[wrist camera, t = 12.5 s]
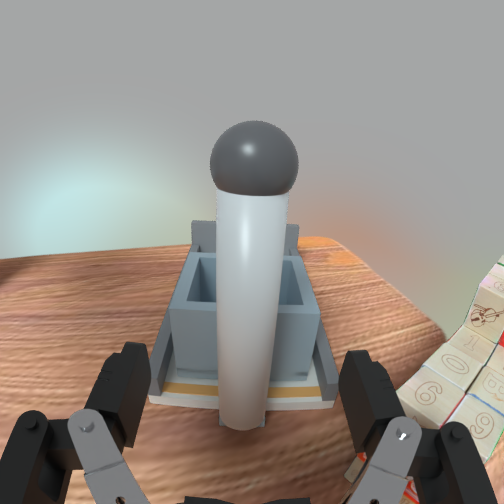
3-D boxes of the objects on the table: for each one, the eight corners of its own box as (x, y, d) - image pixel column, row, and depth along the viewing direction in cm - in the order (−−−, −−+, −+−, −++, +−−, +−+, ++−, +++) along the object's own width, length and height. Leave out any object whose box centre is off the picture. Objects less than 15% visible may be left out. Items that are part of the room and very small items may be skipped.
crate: (165, 436, 18) (120, 123, 10) (192, 311, 31) (189, 117, 24) (317, 440, 18) (391, 136, 11) (293, 315, 32) (313, 123, 24)
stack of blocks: (403, 530, 12) (527, 416, 7) (340, 477, 16) (410, 340, 11) (510, 376, 23) (560, 271, 18) (468, 350, 28) (509, 246, 23)
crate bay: (150, 402, 22) (136, 346, 19) (193, 261, 44) (192, 220, 42) (332, 408, 22) (350, 352, 20) (293, 265, 45) (298, 224, 42)
